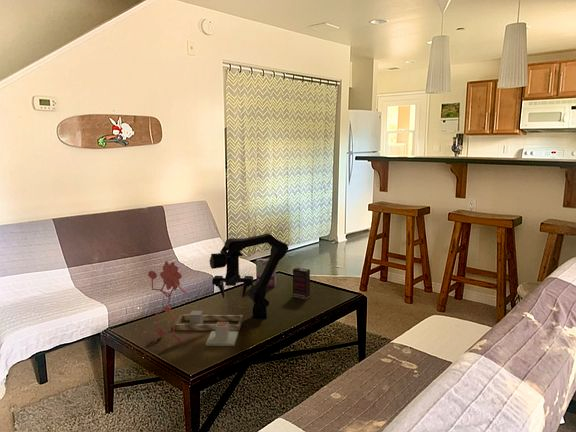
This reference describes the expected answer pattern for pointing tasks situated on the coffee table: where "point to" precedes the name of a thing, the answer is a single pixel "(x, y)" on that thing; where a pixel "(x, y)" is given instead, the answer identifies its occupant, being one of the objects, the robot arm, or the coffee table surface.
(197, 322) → the grey block
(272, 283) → the candy bar box
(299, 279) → the supplement box
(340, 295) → the coffee table surface
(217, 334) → the labelled block
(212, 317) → the bin
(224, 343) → the sage board
